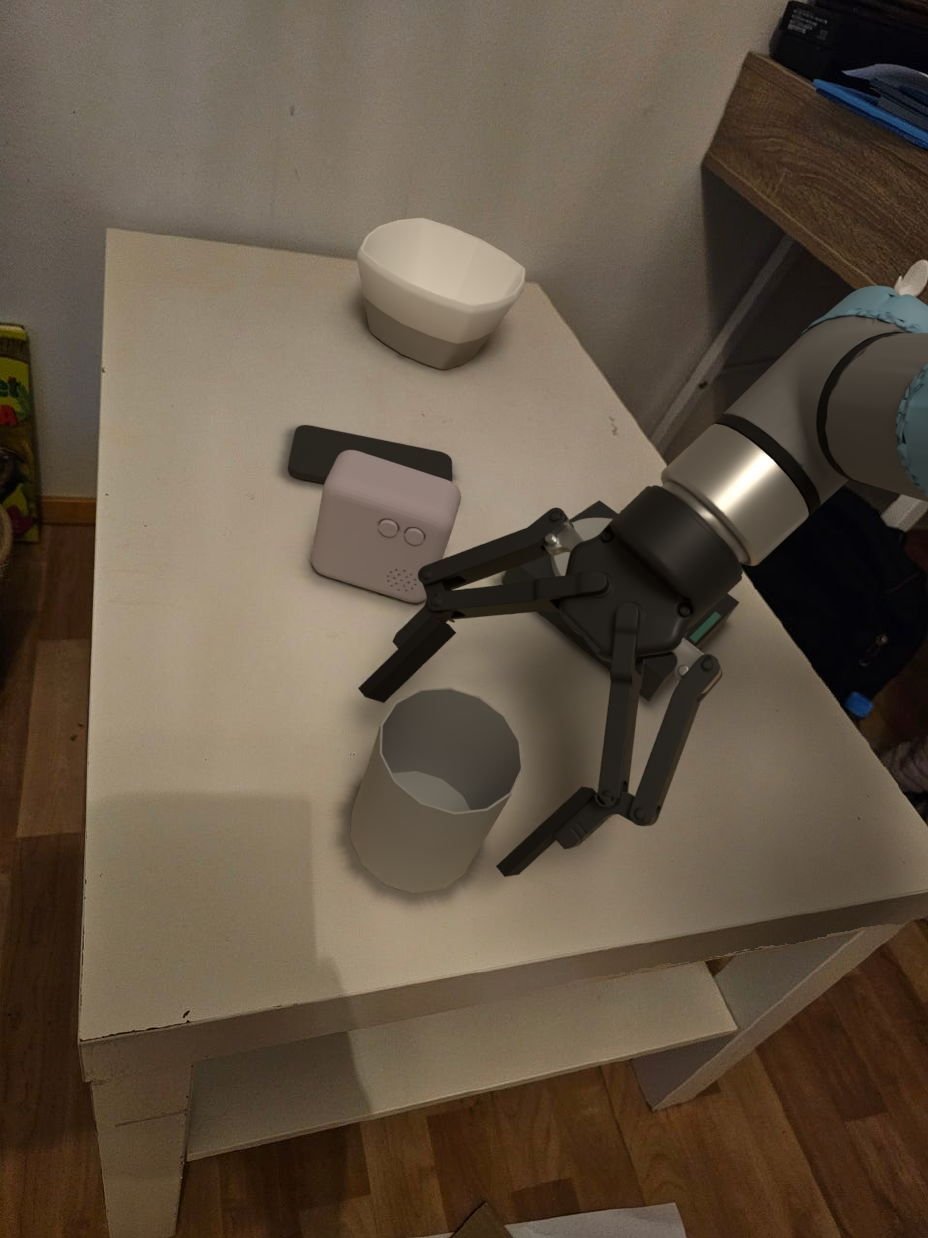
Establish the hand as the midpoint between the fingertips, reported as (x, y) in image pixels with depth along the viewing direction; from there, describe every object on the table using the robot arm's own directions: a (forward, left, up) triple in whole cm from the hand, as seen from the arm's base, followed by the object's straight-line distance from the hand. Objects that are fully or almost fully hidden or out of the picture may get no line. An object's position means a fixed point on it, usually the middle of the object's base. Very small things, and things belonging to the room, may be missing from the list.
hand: (435, 778), depth 49 cm
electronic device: (+18, -14, -7) cm, 24 cm away
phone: (+28, -24, -6) cm, 37 cm away
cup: (0, 0, -7) cm, 7 cm away
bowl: (+42, -47, -7) cm, 63 cm away
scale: (+3, -30, -6) cm, 31 cm away
